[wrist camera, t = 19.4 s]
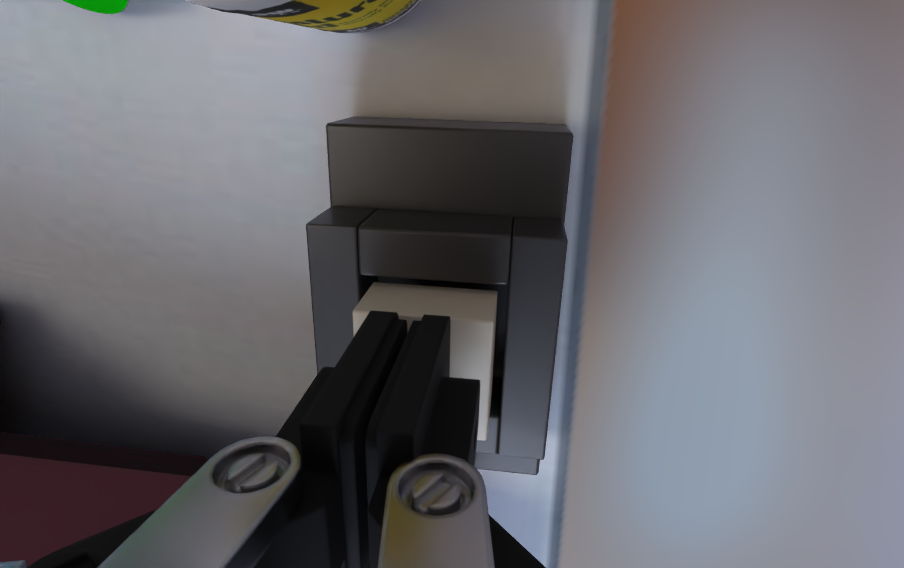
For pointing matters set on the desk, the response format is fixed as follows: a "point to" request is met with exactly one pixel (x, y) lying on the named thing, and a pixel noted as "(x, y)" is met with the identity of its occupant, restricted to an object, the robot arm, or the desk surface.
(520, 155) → the dark gray block frame
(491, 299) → the key back
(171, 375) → the desk surface
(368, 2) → the supplement bottle
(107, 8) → the stick construction toy
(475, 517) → the robot arm
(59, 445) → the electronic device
